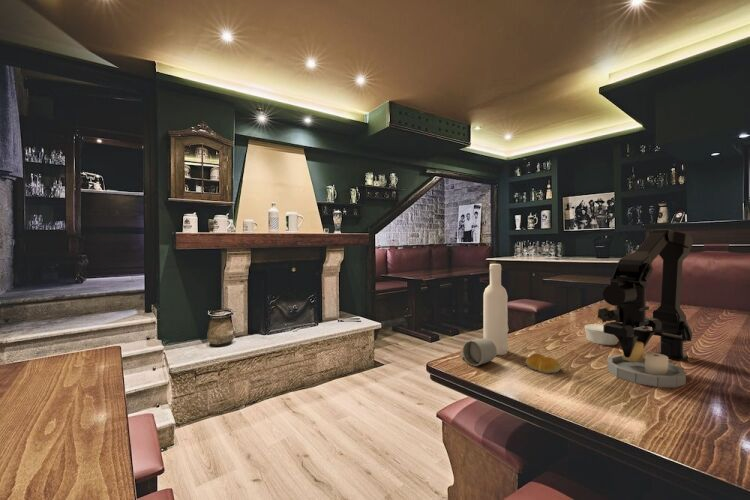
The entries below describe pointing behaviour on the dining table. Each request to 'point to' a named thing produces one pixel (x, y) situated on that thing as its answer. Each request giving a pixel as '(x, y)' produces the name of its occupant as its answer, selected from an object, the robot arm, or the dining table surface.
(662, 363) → the cream bead
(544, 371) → the bread roll
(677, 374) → the round tray
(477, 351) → the ceramic mug
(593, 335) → the ramekin
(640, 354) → the ochre bead
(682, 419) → the dining table surface
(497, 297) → the bottle
